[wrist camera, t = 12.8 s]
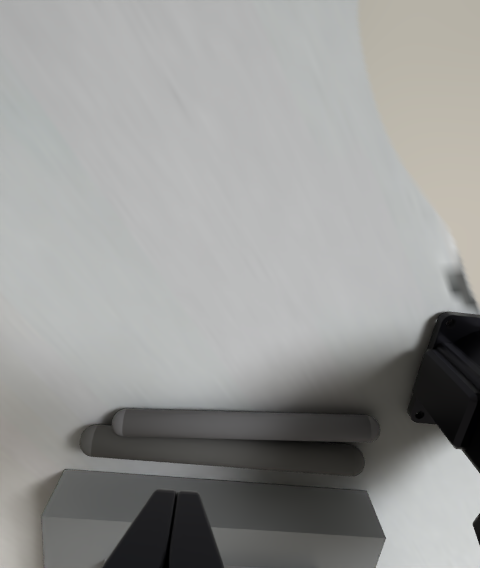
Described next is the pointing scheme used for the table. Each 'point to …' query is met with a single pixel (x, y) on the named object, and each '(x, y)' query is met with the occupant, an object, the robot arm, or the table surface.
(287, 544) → the grey tray
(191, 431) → the grey thin rod
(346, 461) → the grey rounded rod
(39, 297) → the table surface
